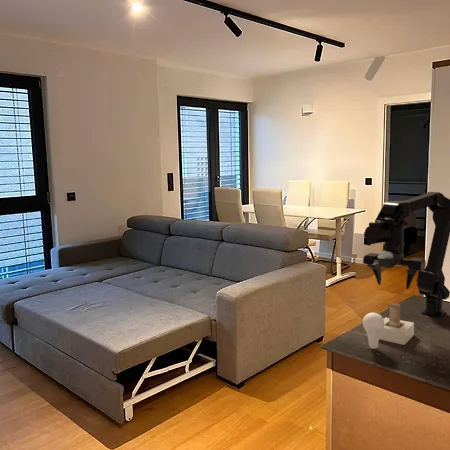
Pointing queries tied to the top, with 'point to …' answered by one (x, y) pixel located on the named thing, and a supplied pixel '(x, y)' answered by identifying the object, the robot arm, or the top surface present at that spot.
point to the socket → (397, 332)
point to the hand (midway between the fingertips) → (393, 286)
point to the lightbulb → (373, 328)
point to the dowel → (394, 315)
